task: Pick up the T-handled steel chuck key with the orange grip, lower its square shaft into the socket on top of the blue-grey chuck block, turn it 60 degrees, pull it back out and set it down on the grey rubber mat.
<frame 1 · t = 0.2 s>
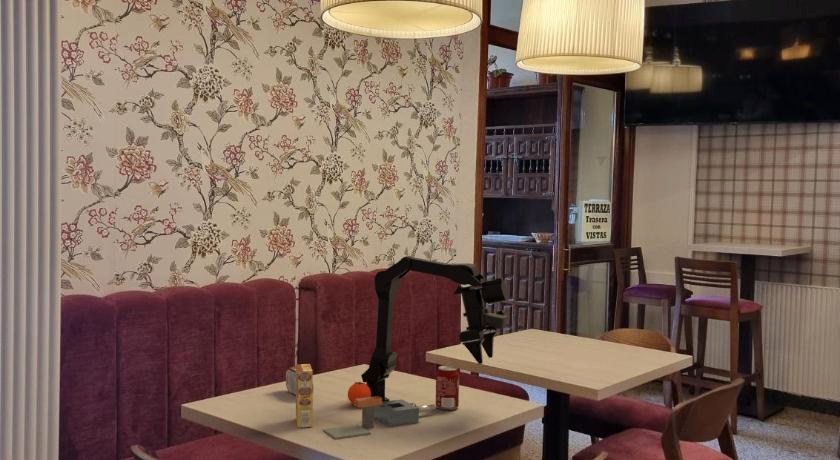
hand: (485, 360, 229), 15 cm above the table, tool pointing down, fingers open, 9 cm apart
mat: (347, 432, 209), on the table
tin: (298, 396, 246), on the table
chuck block: (395, 419, 222), on the table
candy box: (303, 423, 217), on the table
clementine: (358, 406, 236), on the table
chuck key: (367, 427, 215), on the table
soda can: (446, 408, 235), on the table
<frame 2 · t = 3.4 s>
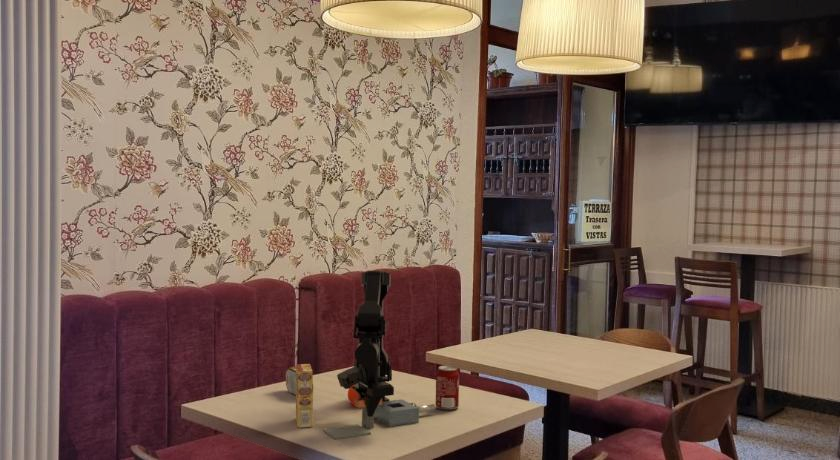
hand: (368, 415, 214), 3 cm above the table, tool pointing down, fingers closed on chuck key, 2 cm apart
chuck key: (367, 427, 215), on the table, touching gripper
everything else where it was.
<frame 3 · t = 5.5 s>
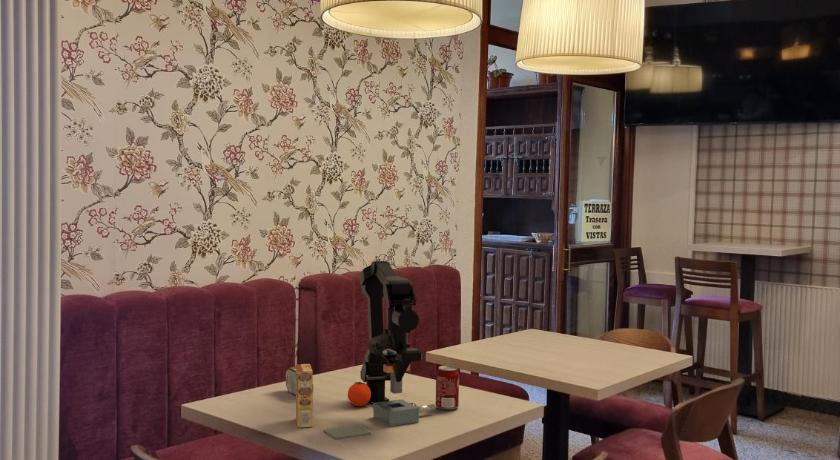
hand: (396, 380, 222), 11 cm above the table, tool pointing down, fingers closed on chuck key, 2 cm apart
chuck key: (396, 392, 222), point 8 cm above the table, touching gripper
everything else where it was.
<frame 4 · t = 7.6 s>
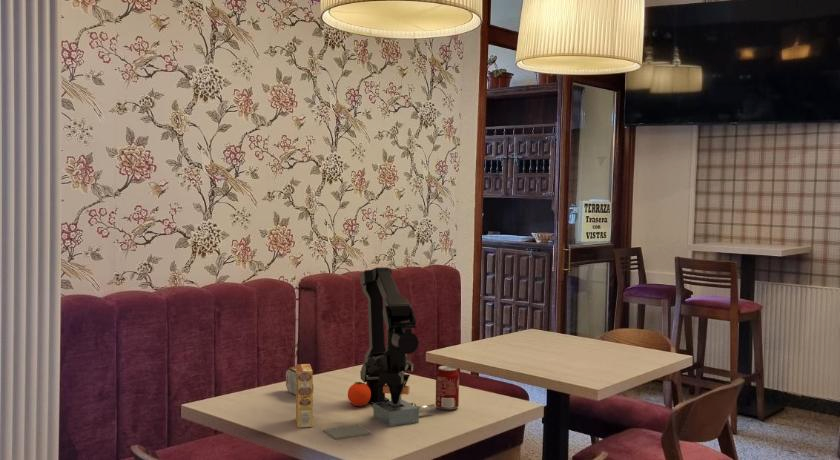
hand: (396, 402, 222), 5 cm above the table, tool pointing down, fingers closed on chuck key, 2 cm apart
chuck key: (395, 414, 222), point 2 cm above the table, touching gripper
everything else where it was.
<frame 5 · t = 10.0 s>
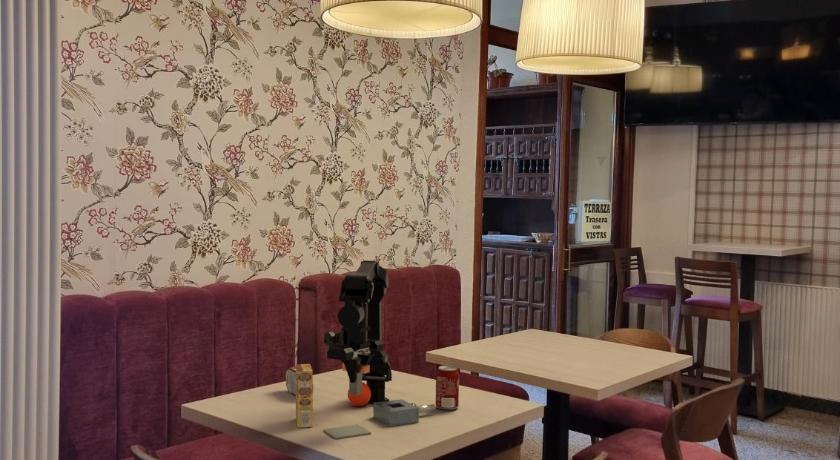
hand: (355, 381, 210), 13 cm above the table, tool pointing down, fingers closed on chuck key, 2 cm apart
chuck key: (355, 394, 210), point 10 cm above the table, touching gripper
everything else where it was.
when the fingers open (4 cm above the table, at t = 11.9 s): chuck key stays where it is, resting on mat.
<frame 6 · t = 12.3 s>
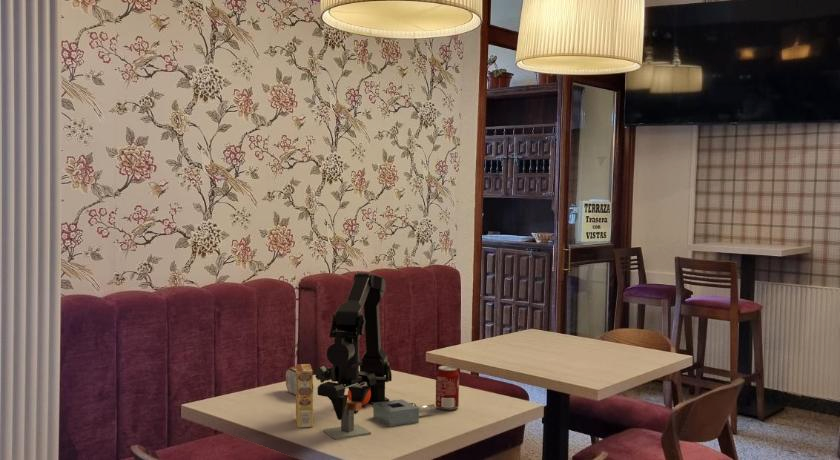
hand: (347, 416, 209), 4 cm above the table, tool pointing down, fingers open, 6 cm apart
chuck key: (347, 430, 209), resting on mat
everything else where it was.
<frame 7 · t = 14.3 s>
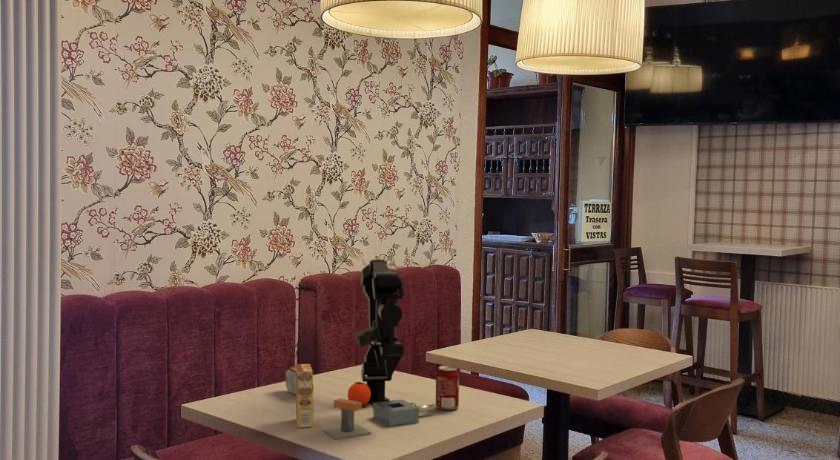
hand: (384, 373, 223), 12 cm above the table, tool pointing down, fingers open, 9 cm apart
nothing on the table moved.
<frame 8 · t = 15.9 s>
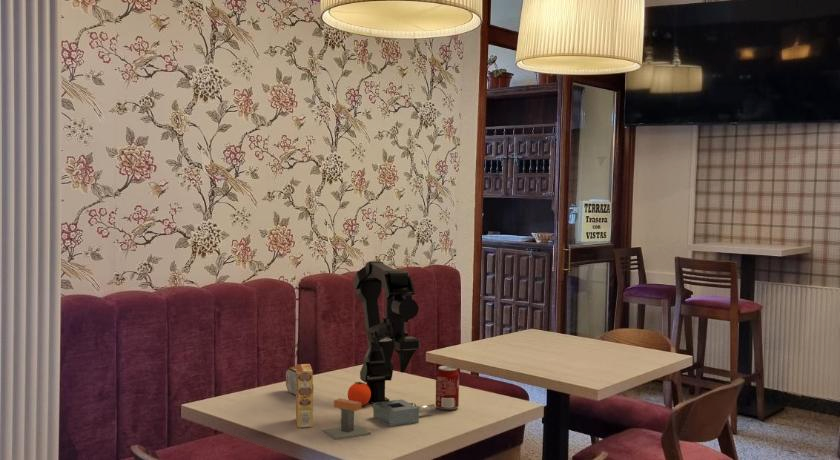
hand: (394, 368, 227), 13 cm above the table, tool pointing down, fingers open, 9 cm apart
nothing on the table moved.
at the end: chuck key inside the target area on the mat (0.1 cm from its centre), point 0.5 cm above the mat's base; the gripper is holding nothing; chuck key touching mat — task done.
